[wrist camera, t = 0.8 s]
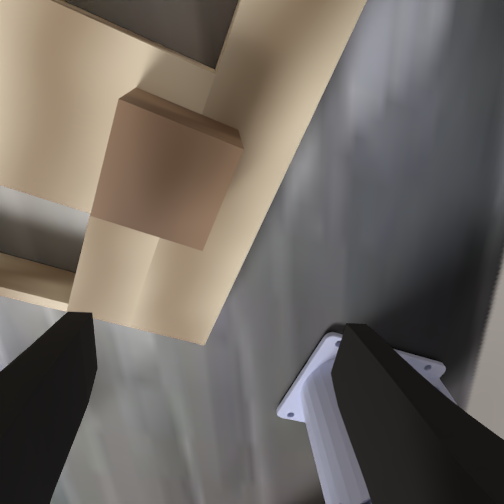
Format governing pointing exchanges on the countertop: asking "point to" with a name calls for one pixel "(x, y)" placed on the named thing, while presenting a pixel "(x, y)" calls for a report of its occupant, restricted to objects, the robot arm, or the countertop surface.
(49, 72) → the trap board
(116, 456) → the countertop surface
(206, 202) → the walnut block
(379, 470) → the robot arm
